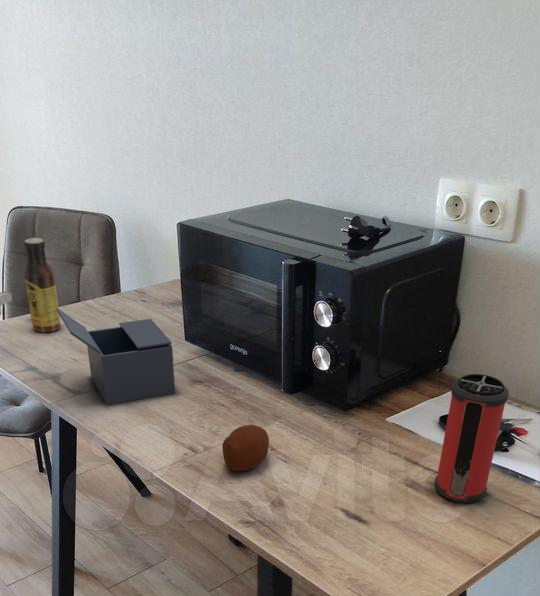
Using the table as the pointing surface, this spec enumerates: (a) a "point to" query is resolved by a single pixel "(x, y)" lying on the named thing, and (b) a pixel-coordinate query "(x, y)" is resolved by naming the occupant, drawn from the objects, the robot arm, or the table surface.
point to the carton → (132, 362)
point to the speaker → (470, 437)
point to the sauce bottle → (41, 288)
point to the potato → (245, 447)
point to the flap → (78, 330)
